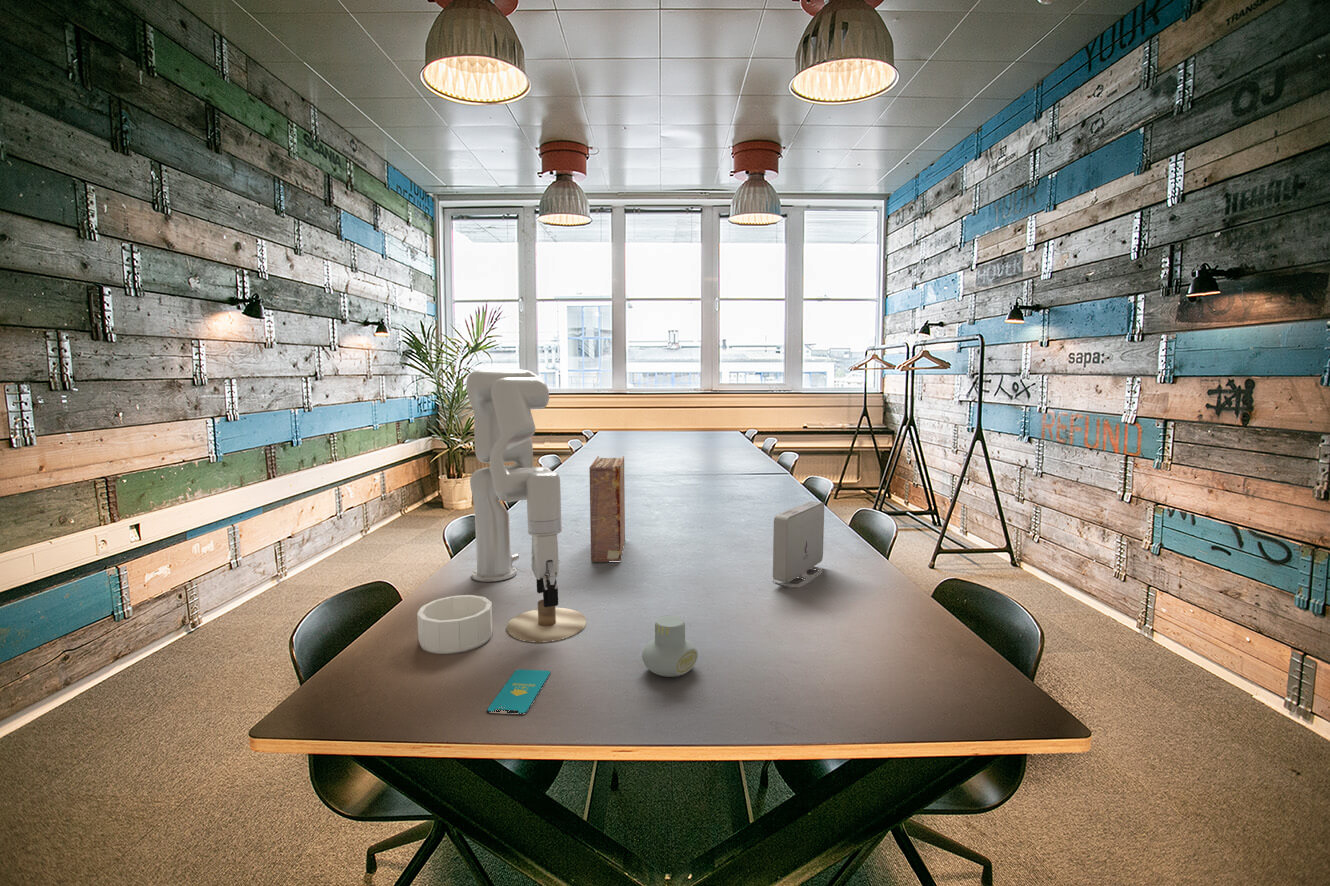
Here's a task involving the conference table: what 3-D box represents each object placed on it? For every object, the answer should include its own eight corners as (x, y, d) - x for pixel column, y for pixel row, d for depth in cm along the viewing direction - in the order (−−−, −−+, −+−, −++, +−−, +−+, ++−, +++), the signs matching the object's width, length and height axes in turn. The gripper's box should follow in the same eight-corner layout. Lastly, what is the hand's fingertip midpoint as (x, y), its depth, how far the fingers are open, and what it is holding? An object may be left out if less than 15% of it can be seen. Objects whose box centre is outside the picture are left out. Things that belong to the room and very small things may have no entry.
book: (599, 540, 209) (597, 456, 205) (625, 540, 209) (624, 455, 206) (590, 563, 184) (589, 467, 180) (620, 563, 184) (619, 467, 180)
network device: (792, 592, 158) (794, 519, 156) (763, 585, 164) (764, 514, 161) (829, 568, 178) (831, 502, 176) (802, 562, 184) (804, 498, 182)
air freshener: (671, 653, 124) (670, 607, 123) (703, 665, 119) (703, 617, 117) (635, 674, 115) (635, 624, 114) (668, 688, 110) (668, 636, 109)
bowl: (452, 620, 141) (450, 591, 140) (505, 629, 136) (504, 600, 135) (404, 647, 127) (402, 615, 126) (461, 658, 122) (460, 626, 121)
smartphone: (551, 669, 116) (526, 712, 101) (552, 673, 116) (526, 717, 101) (515, 668, 117) (484, 711, 102) (516, 672, 117) (485, 715, 102)
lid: (535, 607, 150) (534, 584, 149) (599, 617, 143) (599, 593, 143) (490, 636, 133) (489, 611, 132) (561, 649, 127) (560, 622, 126)
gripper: (523, 519, 142) (525, 589, 144) (533, 536, 126) (536, 614, 127) (554, 516, 145) (556, 585, 146) (568, 532, 129) (571, 609, 130)
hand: (547, 598), depth 137 cm, fingers open, 9 cm apart
